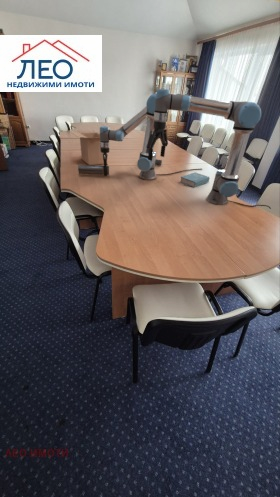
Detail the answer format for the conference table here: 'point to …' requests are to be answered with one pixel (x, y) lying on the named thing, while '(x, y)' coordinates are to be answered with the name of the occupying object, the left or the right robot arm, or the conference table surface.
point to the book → (194, 179)
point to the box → (90, 147)
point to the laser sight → (158, 162)
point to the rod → (92, 169)
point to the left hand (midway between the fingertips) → (105, 174)
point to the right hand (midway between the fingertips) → (156, 158)
